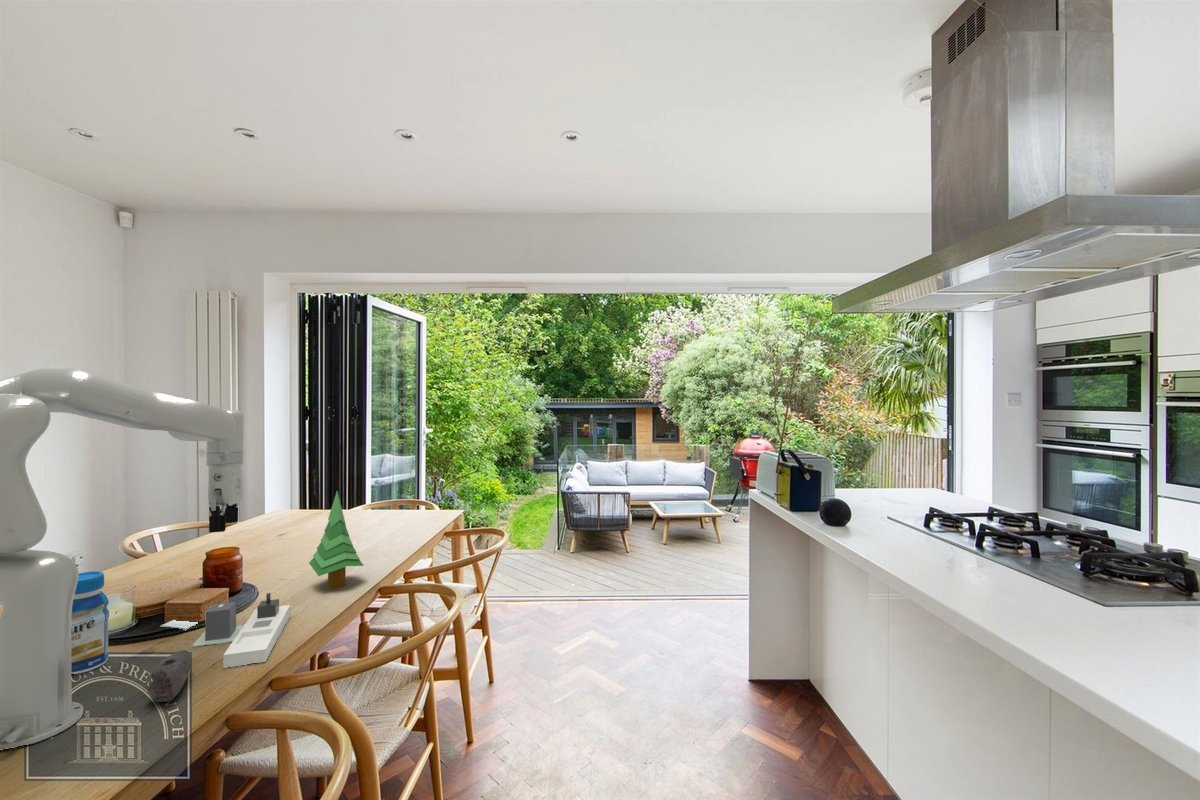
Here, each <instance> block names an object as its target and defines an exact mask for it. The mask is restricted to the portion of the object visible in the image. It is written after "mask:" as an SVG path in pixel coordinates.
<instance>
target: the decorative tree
mask: <svg viewBox="0 0 1200 800" xmlns="http://www.w3.org/2000/svg"><path fill="white" fill-rule="evenodd" d="M357 553H358V552H357V551H356V549H355V547H354V545H353V542H352V540H351V537H350V535H349V531H348V528H347V526H346V519H345V516H344V511H343V507H342V504H341V499H340V496H339V492H338V490H336V493H335V496H334V499H333V502H332V506H331V508H330V512H329V515H328V522H327V523H326V526H325V529H324V533H323V535H322V537H321V539H320V543H319V544H318V546H317V547H316V551H315V552H314V554H313V555H312V557H313V558H312V559H311V560H310V561H309V562H308V564H309V565H310V566H311V568H312V569H313V571H314V572H315V573H316V575H317V576H318V577H321V576H323V575H326V574H327V587H328V588H330V589H337V588H339V587H340V588H342V587H344V586H345V585H346V583H347V582H346V579H347V578H346V575H347V574H346V572H347V571H346V570H347V569H346V568H347V567H364V563H362V560H361V558H360V557H359V556H358V554H357ZM340 588H339V589H340Z"/></svg>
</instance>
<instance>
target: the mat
mask: <svg viewBox="0 0 1200 800" xmlns="http://www.w3.org/2000/svg"><path fill="white" fill-rule="evenodd" d="M244 625H245V624H241V625H236V630H235V631H234V633H233V634H232V635H231V637H230V638H225V639H217V640H210V641H205V630H204V631H203V632H202V633H201V635H200V636H199V637H198V638H197V639H196V641H195V642H194V643H193V644H192V645H191V648H192V647H193V648H195V647H194V646H201V647H205V646H204V645H209V646H213V645H212V644H216V645H221V644H222V645H223V643H224V644H230V642H233V641H234V639H235V638H236V636H237V635H238V633H239V632H240V631H241V629H242V628H243V626H244Z"/></svg>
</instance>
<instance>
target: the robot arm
mask: <svg viewBox="0 0 1200 800" xmlns="http://www.w3.org/2000/svg"><path fill="white" fill-rule="evenodd" d="M51 413H63V414H64V413H65V414H72V415H76V416H80V417H85V418H88V419H94V420H97V421H98V420H99V421H102V422H107V423H110V424H113V425H118V426H121V427H126V428H130V429H138V430H147V431H162V432H163V431H164V432H166V431H167V433H168V434H169V436H171V437H173V438H174V439H176V440H178V441H179V440H180V441H182V442H183V441H184V442H206V464H205V465H206V467H209V475H208V477H209V478H208V490H207V491H208V492H207V494H208V495H207V499H208V500H207V501H208V506H209V508H208V510H209V511H208V516H209V518H208V519H209V524H208V526H209V527H208V528H209V529H208V531H209V533H221V532H222V533H224V532H225V531H226V530H227V529H226V528H227V527H226V526H227V525H226V524H236V523H238V522H239V502H241V500H242V499H243V496H244V495H243V494H244V493H243V492H244V491H243V490H244V489H243V474H242V473H243V472H242V466H241V465H243V464H244V427H245V426H244V423H245V422H244V420H245V418H244V413H243V412H242V411H240V410H238V409H223V408H219V407H217V406H214V405H210V404H208V403H205V402H201V401H197V400H194V399H188V398H184V397H180V396H175V395H171V394H167V393H164V392H160V391H155V390H154V391H153V390H151V389H150V390H149V389H146V388H143V387H139V386H137V385H134V384H129V383H127V382H124V381H120V380H118V379H114V378H113V377H109V376H105V375H102V374H99V373H96V372H93V371H89V370H86V369H79V368H39V369H33V370H28V371H26V372H23V373H19V374H17V375H13V376H10V377H7V378H4V379H1V380H0V607H2V612H1V614H0V749H5V748H11V747H15V746H21V745H27V746H29V744H30V745H32V744H36V743H39V742H42V741H43V740H47V739H49V738H51V737H53V736H56V735H58V734H60V733H62V732H64V731H66V730H67V729H69V728H70V727H72V726H73V725H74V724H76V723H77V722H79V720H80V719H81V718H82V717H83V714H84V705H83V704H81V703H80V702H76V701H72V699H73V698H72V694H73V693H72V675H71V615H72V605H73V599H74V595H75V591H76V587H77V583H78V576H79V575H78V573H79V569H78V566H77V564H76V563H75V562H74V560H73V559H72V558H70V557H68V556H67V555H65V554H63V553H59V552H55V551H50V550H49V551H48V550H37V549H31V548H33V547H35V546H36V545H38V544H39V543H40V542H41V541H42V540H43V539H44V537H45V535H46V534H47V530H48V529H47V528H48V524H47V518H46V516H45V514H44V511H43V510H42V506H41V504H40V502H39V499H38V497H37V496H36V495H37V494H36V493H35V491H34V489H33V485H32V484H31V481H30V479H29V475H28V472H27V468H26V461H27V457H28V455H29V452H30V450H31V449H32V448H33V446H34V445H35V444H36V442H37V441H38V440H39V439H40V438H41V437H42V435H43V434H44V433H45V431H46V430H47V429H48V427H49V425H50V423H51Z"/></svg>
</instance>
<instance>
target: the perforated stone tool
mask: <svg viewBox="0 0 1200 800" xmlns="http://www.w3.org/2000/svg"><path fill="white" fill-rule="evenodd" d="M191 666H192V657H191V653H190V652H189V651H188V650H187V649H183V650H182V649H181V650H178V651H175V652H173V653H172V654H170V655H169V656H167V657H166V658H165V659H163V660H162V661H161V662H160V663H158V664H157V666H155V668H154V669H153V670H152V672H151V674H150V677H151V679H152V681H151V682H150V685H149V687H148V689H147V693H148V695H149V696H150V699H151V701H152V702H154V703H157V702H158V703H162V702H163V703H164V702H170V701H172V700H174V698H175V697H176V696H178V695H179V693H180V692H181V690H182V688H183V687H184V685H185V683H186V680H187V679H188V676H189V672H190V670H191Z"/></svg>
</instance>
